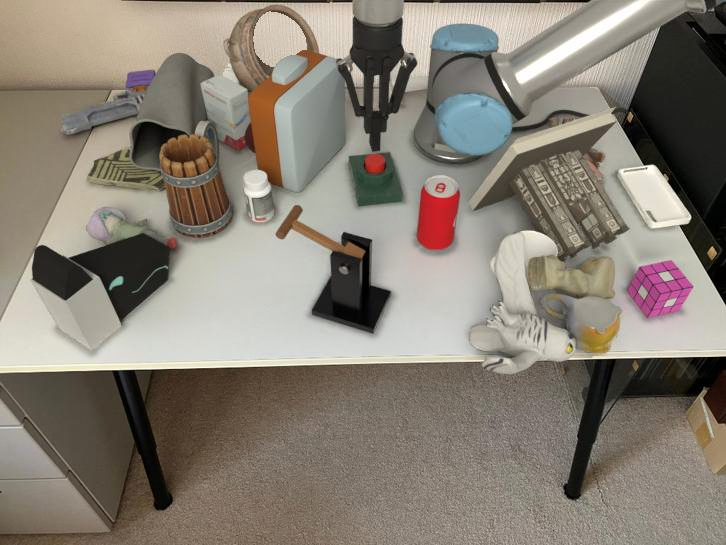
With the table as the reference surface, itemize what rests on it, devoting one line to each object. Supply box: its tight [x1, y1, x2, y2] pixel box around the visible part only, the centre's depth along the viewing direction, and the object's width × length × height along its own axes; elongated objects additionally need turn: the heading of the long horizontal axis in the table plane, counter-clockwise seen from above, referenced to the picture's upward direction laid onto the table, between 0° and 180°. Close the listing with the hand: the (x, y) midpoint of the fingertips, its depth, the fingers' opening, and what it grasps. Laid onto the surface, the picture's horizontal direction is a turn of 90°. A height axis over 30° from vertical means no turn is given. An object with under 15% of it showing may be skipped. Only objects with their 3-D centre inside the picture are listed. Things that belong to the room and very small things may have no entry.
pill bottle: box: [242, 169, 276, 223], centre depth 107 cm, size 5×5×8 cm
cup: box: [489, 230, 558, 287], centre depth 98 cm, size 8×10×7 cm
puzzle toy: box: [627, 259, 694, 319], centre depth 95 cm, size 6×6×6 cm
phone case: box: [616, 164, 692, 230], centre depth 113 cm, size 7×1×15 cm
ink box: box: [200, 73, 251, 151], centre depth 121 cm, size 9×5×12 cm, turn 48°
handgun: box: [60, 69, 157, 136], centre depth 131 cm, size 3×22×15 cm
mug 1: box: [159, 120, 233, 239], centre depth 105 cm, size 16×11×15 cm
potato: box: [245, 122, 256, 155], centre depth 120 cm, size 7×8×7 cm
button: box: [365, 153, 385, 173], centre depth 113 cm, size 4×4×2 cm
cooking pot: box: [222, 4, 320, 94], centre depth 131 cm, size 25×19×12 cm
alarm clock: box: [248, 50, 347, 193], centre depth 112 cm, size 18×9×21 cm, turn 152°
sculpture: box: [528, 254, 616, 300], centre depth 93 cm, size 6×7×15 cm
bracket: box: [311, 231, 392, 335], centre depth 91 cm, size 10×8×13 cm
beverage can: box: [416, 174, 461, 251], centre depth 102 cm, size 6×6×12 cm
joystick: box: [389, 61, 429, 104], centre depth 134 cm, size 11×8×20 cm
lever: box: [275, 204, 365, 259], centre depth 88 cm, size 12×6×2 cm, turn 69°
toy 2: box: [468, 231, 577, 375], centre depth 88 cm, size 24×13×15 cm
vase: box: [128, 52, 215, 172], centre depth 121 cm, size 12×12×30 cm
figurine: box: [547, 116, 606, 191], centre depth 119 cm, size 7×5×20 cm
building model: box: [467, 106, 631, 263], centre depth 103 cm, size 20×20×18 cm
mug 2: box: [539, 291, 623, 354], centre depth 91 cm, size 12×7×7 cm, turn 50°
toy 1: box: [86, 206, 178, 249], centre depth 103 cm, size 11×5×15 cm
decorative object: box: [29, 233, 171, 352], centre depth 91 cm, size 8×18×15 cm, turn 147°
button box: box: [348, 151, 404, 207], centre depth 115 cm, size 8×12×4 cm, turn 9°
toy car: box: [221, 61, 243, 87], centre depth 135 cm, size 6×12×7 cm, turn 159°
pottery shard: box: [86, 147, 166, 192], centre depth 115 cm, size 11×16×2 cm, turn 49°
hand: (374, 146), depth 110 cm, fingers closed
